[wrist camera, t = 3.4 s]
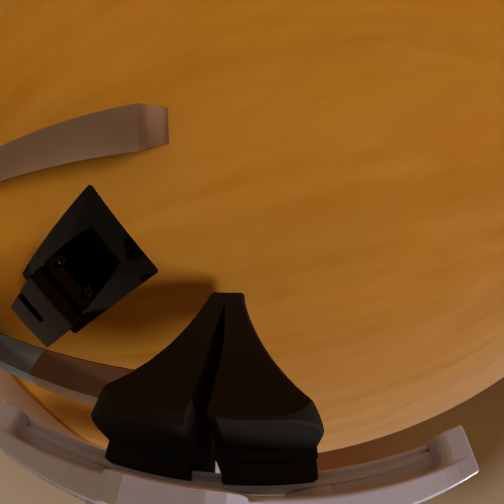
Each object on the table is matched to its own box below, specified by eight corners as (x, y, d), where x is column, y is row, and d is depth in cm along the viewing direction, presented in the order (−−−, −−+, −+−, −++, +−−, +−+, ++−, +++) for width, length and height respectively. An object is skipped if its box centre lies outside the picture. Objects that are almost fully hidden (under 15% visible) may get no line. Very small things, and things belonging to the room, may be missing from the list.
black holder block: (108, 147, 10) (44, 164, 6) (200, 264, 13) (179, 328, 9) (15, 271, 14) (-22, 308, 9) (79, 343, 16) (53, 389, 12)
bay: (203, 390, 17) (194, 452, 12) (-1, 341, 17) (-23, 372, 13) (167, 107, 9) (103, 100, 5) (-57, 183, 9) (-95, 205, 5)
